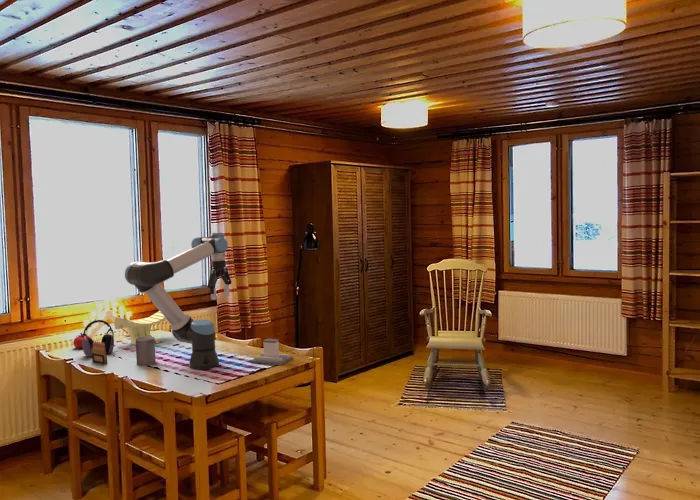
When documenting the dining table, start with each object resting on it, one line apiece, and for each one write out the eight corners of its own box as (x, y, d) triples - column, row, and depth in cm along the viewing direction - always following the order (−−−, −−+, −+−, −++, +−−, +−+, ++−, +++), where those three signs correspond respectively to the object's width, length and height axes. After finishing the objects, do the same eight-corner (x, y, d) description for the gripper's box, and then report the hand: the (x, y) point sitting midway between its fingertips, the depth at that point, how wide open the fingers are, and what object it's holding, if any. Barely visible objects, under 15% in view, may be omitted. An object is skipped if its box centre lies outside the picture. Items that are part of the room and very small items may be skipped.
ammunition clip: (92, 362, 318) (91, 340, 317) (95, 361, 319) (94, 339, 318) (104, 364, 312) (103, 342, 311) (107, 363, 313) (106, 341, 312)
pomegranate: (93, 347, 352) (92, 332, 351) (75, 350, 346) (74, 335, 345) (90, 345, 360) (89, 330, 359) (72, 347, 354) (71, 332, 354)
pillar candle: (136, 362, 315) (134, 335, 313) (155, 359, 318) (153, 333, 317) (137, 366, 306) (135, 338, 304) (156, 364, 309) (155, 336, 308)
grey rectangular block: (275, 359, 307) (275, 341, 306) (264, 358, 309) (263, 340, 309) (279, 357, 311) (278, 339, 310) (267, 357, 313) (266, 338, 312)
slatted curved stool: (160, 336, 379) (159, 309, 377) (173, 339, 368) (172, 311, 367) (115, 345, 357) (114, 316, 356) (128, 349, 346) (126, 319, 345)
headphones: (116, 352, 337) (114, 318, 336) (87, 358, 325) (85, 323, 324) (109, 350, 344) (107, 317, 342) (80, 356, 332) (78, 321, 330)
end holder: (280, 365, 300) (280, 360, 300) (250, 362, 307) (250, 357, 306) (292, 358, 313) (292, 353, 313) (263, 356, 320) (263, 351, 320)
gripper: (211, 262, 312) (213, 301, 314) (236, 258, 335) (238, 294, 337) (199, 262, 315) (201, 301, 316) (225, 258, 338) (226, 294, 339)
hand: (220, 297), depth 326 cm, fingers open, 13 cm apart
